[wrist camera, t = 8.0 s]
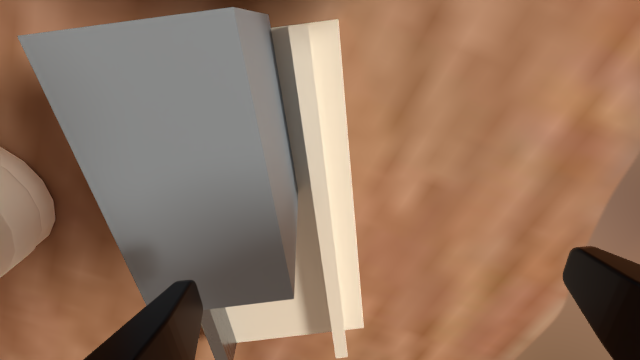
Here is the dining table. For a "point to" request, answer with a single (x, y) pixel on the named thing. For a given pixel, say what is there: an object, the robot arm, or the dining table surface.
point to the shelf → (308, 203)
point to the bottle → (21, 211)
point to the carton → (182, 147)
